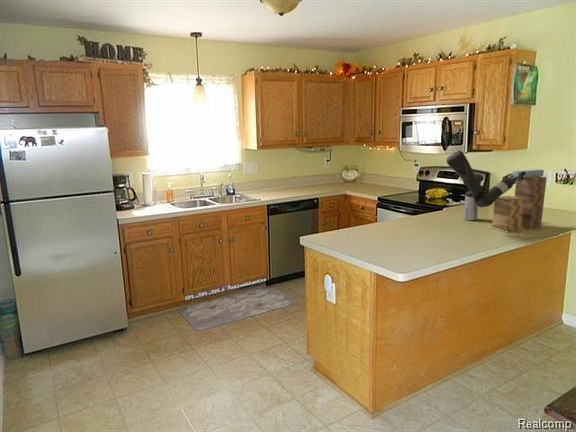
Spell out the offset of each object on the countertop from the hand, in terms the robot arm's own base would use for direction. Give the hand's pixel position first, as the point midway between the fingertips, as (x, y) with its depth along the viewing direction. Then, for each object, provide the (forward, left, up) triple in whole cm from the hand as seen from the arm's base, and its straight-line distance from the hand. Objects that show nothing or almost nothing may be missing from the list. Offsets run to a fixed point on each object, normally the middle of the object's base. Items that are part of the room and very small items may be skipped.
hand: (521, 172), depth 272 cm
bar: (+5, +2, -3) cm, 7 cm away
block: (-8, -4, -37) cm, 38 cm away
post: (+8, +4, -37) cm, 38 cm away
